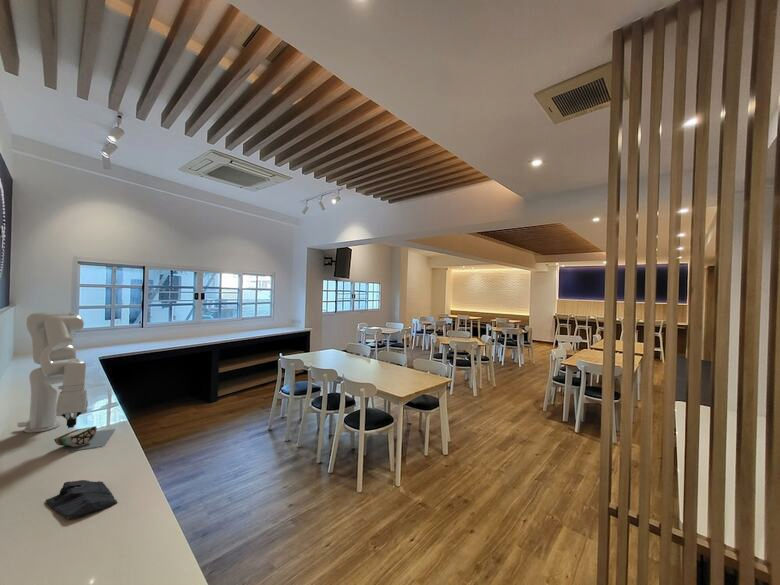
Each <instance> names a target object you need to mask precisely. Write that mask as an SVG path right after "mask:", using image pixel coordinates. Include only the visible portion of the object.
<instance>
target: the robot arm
mask: <svg viewBox="0 0 780 585" xmlns="http://www.w3.org/2000/svg"><path fill="white" fill-rule="evenodd" d="M25 323H26V329H27V330H28V333H29V334H30V337H31V343H32V346H31V347H32V359H33V362H34V364H36V365H40V367H37V368H35V369H32V371H31V372H30V373H29V376H28V377H29V382H30V383H29V384H30V404H29V420H27V421H21V422H17V424H16V425H17V427H18V428H23V427H25V428H24V429H23V431H24V432H25V433H29V434H32V433H33V434H34V433H40V432H45V431H50V430H54V429H56V428H58V427H59V426H60V424H61V423H60V422H59V421H56V420H57V417H63V418H64V419H65V420H66V427H67V429H70V428H74V427H76V425H77V420H78V419H77V418H78V417H79V416H80V415H83V414H87V413H88V404H89V403H88V393H87V389H86V388H85V385H86V368H87V363H86V361H83V360H82V359H81V358H77V353H76V349H75V347H74V345H72V344H73V342H74V339H73V336H72V333H71V332H80V331H82V330H83V328H84V324H85V323H84V320H83V318H82V316H80V315H79V314H77V313H75V312H70V311H61V312H60V311H42V312H41V311H40V312H34V313H31V314H29V315H28V316H27V317H26V322H25ZM56 384H57V385H58V384H62V385H61V386H58V387H57V388H58V389H57V390H56V388H54V387H53V385H56ZM58 390H61V391H60V392H59V394H58ZM72 414H73V415H72Z"/></svg>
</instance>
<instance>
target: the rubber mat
mask: <svg viewBox="0 0 780 585" xmlns="http://www.w3.org/2000/svg"><path fill="white" fill-rule="evenodd" d="M114 430H115V431H116V429H115V428H111V429H104V430H103V429H102V430H96V434H95V436H94V437H93V439H92V440H91V441H90V442H88V443H87V444H85V445H82V446H79V447H72V446H70V448H69V449H68V450H67V452H68V453H70V452H76V451H83V450H84V451H85V450H90V449H91V448H92V449H98V448H97V447H99V448H104V447H105V446H106V445H107V443H108V442H109V440H110V439H109V438H111V437H112V436H113V434H114V432H115V431H114ZM112 433H113V434H112ZM110 436H111V437H110ZM107 441H108V442H107ZM105 444H106V445H105ZM103 446H104V447H103Z"/></svg>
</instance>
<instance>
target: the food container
mask: <svg viewBox="0 0 780 585" xmlns="http://www.w3.org/2000/svg"><path fill="white" fill-rule="evenodd" d="M96 431H98V430H97V426H96V425H95V426H91V427H83V428H77V429H75V430H72V431H69V432H67V433H65V434H62V435H61V436H58V437H56V438H54V439H53V440H54V443H55V444H56V445H58V446H66V447H67V446H70V447H79V446H82V445H85V444H87V443H88V442H90V441H91V440H92V439H93V437H94V436H95V434H96Z"/></svg>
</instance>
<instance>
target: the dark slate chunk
mask: <svg viewBox="0 0 780 585" xmlns="http://www.w3.org/2000/svg"><path fill="white" fill-rule="evenodd" d="M45 502H46V503H47V504H48V505H49V506H50V508H51V509H53V510H54V511H56V512H58V513H59V514H61V515H62V516H63V517H65V518H67V519H70V520H72V519H74V518H77V517H81V516H84V515H87V514H90V513H94V512H98V511H101V510H103V509H104V510H105V509H107V508H110V507H112V506H114V505H115V504H116V505H117V504H118V501H117V499H116V498H115V497H114V495H113V493H112V492H111V490H110V489H109V488H108V487H107V486H106V484H105V483H104V482H103V481H92V480H91V481H90V480H85V479H82V480H75V481H73V480H72V481H65V482H64V483H63V484H62V487H61V489H60V490H59V493H58V494H57V495H54V496H52V497H49V498H46V499H45Z"/></svg>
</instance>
